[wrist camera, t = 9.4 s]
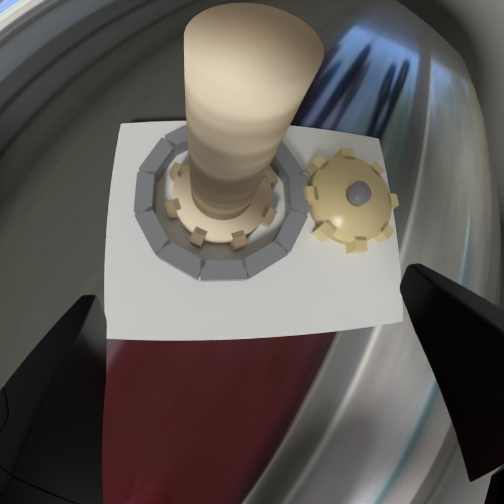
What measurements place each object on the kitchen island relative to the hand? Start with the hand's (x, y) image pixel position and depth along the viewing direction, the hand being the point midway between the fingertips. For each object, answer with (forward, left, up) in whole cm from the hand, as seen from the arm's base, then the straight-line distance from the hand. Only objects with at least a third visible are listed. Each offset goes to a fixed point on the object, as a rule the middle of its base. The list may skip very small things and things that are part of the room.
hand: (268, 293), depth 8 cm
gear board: (+5, -3, -13) cm, 14 cm away
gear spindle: (+7, 0, -12) cm, 14 cm away
